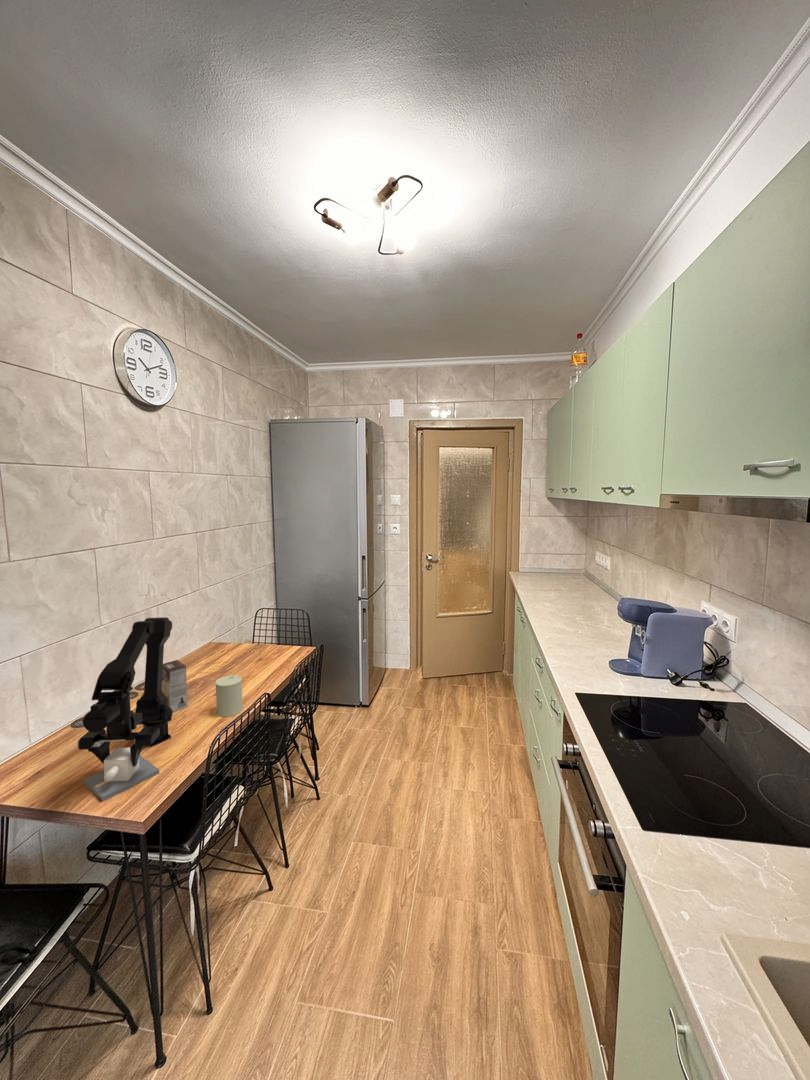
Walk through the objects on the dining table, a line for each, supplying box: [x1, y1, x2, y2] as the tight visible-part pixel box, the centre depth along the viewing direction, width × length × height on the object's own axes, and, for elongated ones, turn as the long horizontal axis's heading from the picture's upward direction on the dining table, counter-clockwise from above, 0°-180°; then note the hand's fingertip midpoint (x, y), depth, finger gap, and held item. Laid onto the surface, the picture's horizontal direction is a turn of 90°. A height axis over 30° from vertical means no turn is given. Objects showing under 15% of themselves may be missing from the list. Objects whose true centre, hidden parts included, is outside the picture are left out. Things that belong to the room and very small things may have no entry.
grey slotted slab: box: [83, 755, 160, 802], centre depth 120 cm, size 14×12×5 cm
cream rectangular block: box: [103, 746, 139, 782], centre depth 118 cm, size 6×10×6 cm, turn 6°
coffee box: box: [162, 659, 188, 713], centre depth 161 cm, size 9×6×16 cm
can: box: [214, 674, 244, 717], centre depth 158 cm, size 9×9×12 cm
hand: (121, 766), depth 120 cm, fingers open, 7 cm apart
